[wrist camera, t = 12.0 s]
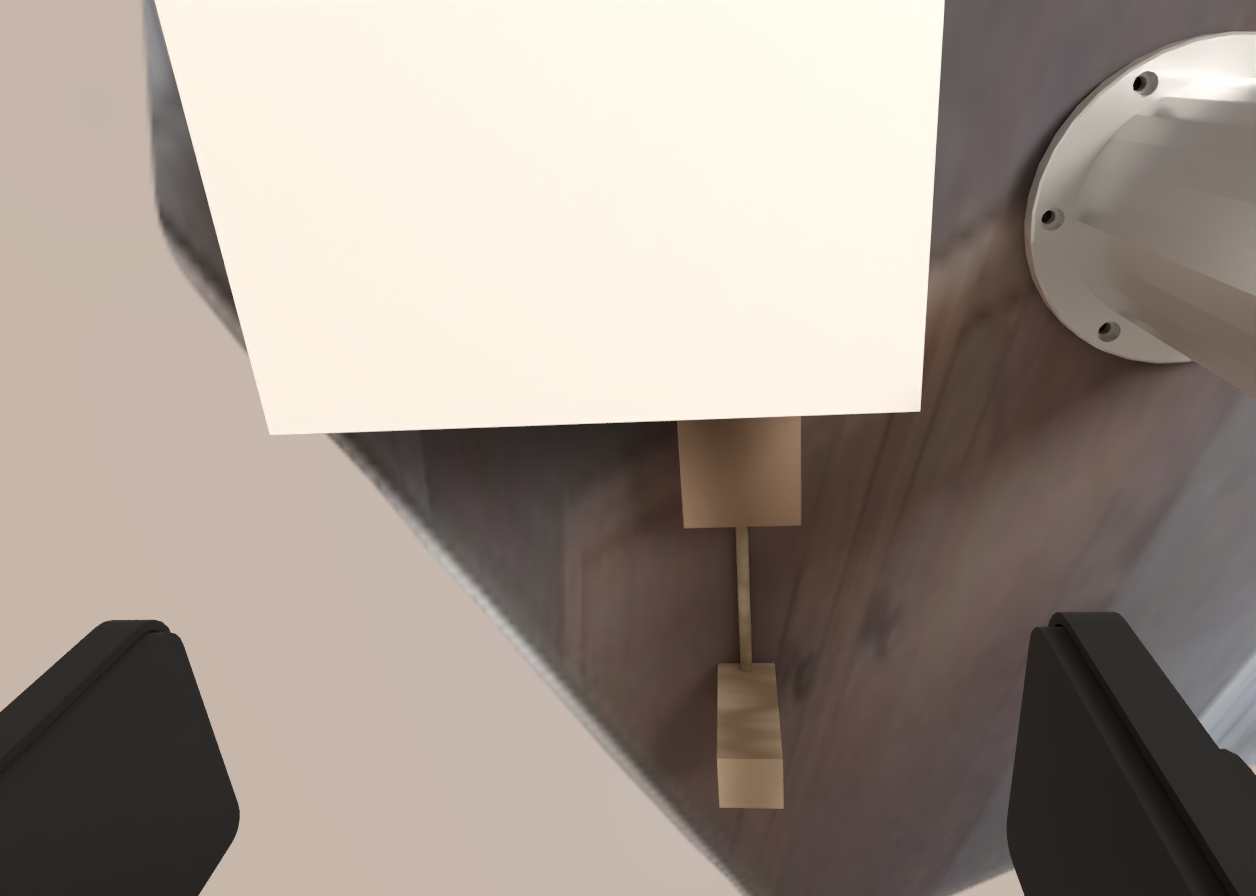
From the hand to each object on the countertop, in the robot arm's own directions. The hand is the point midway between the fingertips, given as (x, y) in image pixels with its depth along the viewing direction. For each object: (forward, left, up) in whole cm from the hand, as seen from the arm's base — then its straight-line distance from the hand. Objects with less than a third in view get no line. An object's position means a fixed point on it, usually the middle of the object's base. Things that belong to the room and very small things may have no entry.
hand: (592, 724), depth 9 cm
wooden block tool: (-2, +16, -30) cm, 34 cm away
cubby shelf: (+3, -5, -30) cm, 31 cm away
